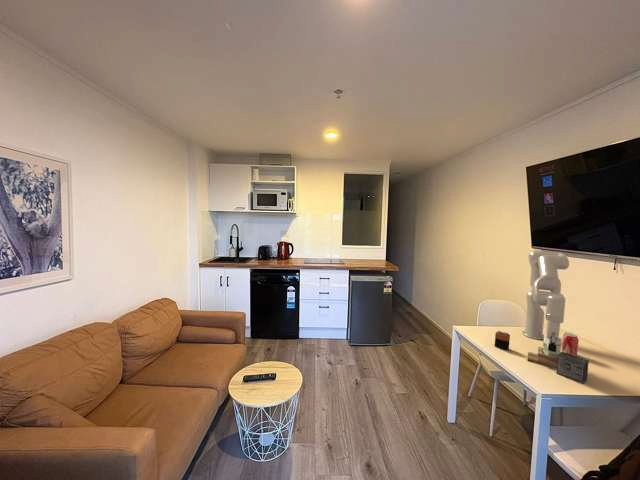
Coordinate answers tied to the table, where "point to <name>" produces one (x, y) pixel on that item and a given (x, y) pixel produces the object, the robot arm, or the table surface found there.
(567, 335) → the soda can
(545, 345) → the syrup box
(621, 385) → the table surface
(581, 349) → the table surface
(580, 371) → the small box
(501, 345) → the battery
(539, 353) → the socket
